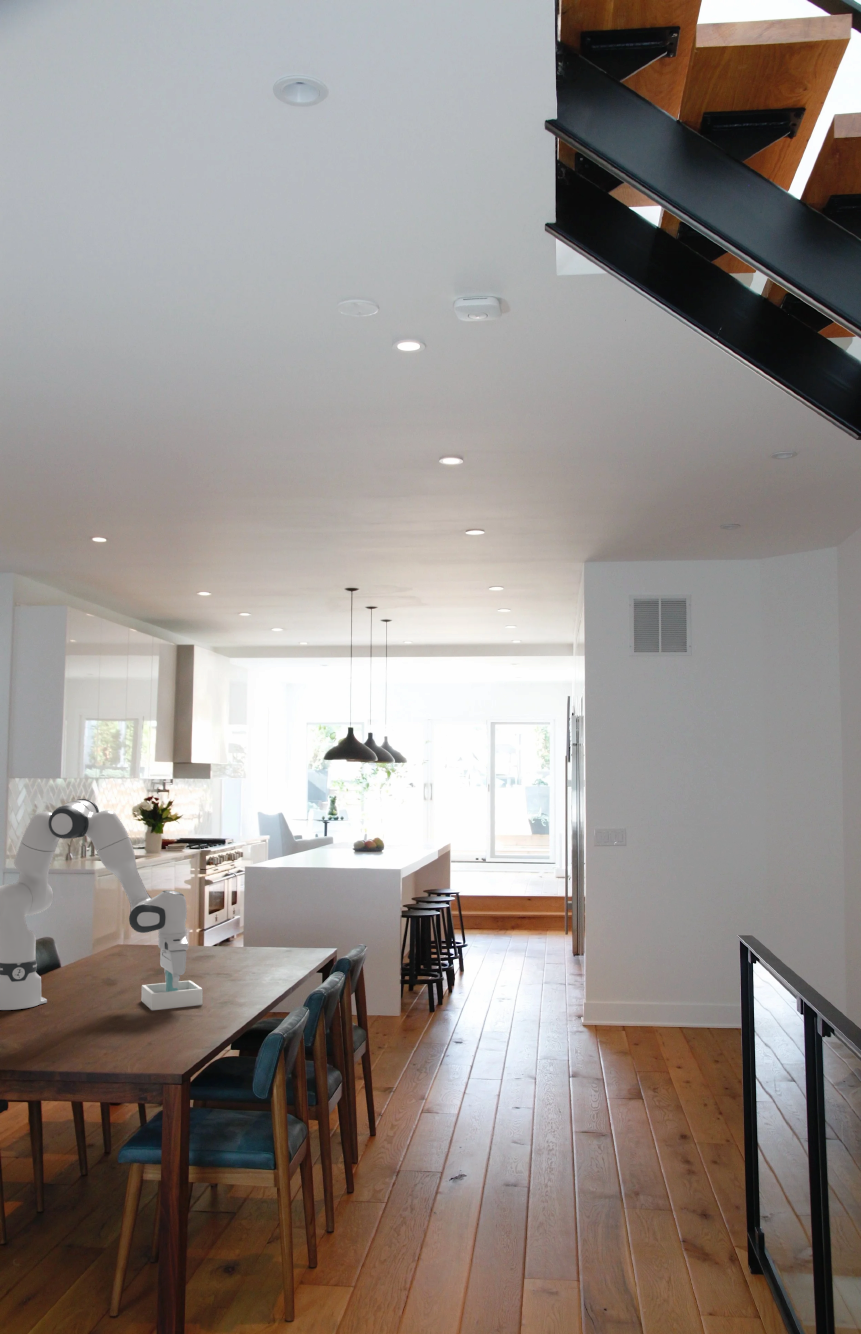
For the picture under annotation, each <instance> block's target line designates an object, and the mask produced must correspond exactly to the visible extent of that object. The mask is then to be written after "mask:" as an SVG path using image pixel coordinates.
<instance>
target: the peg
mask: <svg viewBox="0 0 861 1334" xmlns="http://www.w3.org/2000/svg"><path fill="white" fill-rule="evenodd" d="M172 981H173V977H172V974H171V973H170V972H168V971H166V982H165V983H166V992H170V991H178V988H173V987H172Z"/></svg>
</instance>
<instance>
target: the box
mask: <svg viewBox="0 0 861 1334" xmlns="http://www.w3.org/2000/svg"><path fill="white" fill-rule="evenodd" d="M203 993H204V991H203V988H202V987H201V986H199V985H198V984H196V983H195V982H194V981H193V980H182V981H181V980H179V985H178V991H170V992H166V982H159V983H151V984H141V996H140V997H141V998H140V999H141V1002H142V1003H143V1004H144V1005H145V1006H146V1007H148V1008H149V1010H150V1011H158V1010H159V1011H160V1010H168V1009H177V1008H185V1007H195V1006H202V1005H203V1002H204V1001H203Z"/></svg>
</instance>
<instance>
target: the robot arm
mask: <svg viewBox="0 0 861 1334" xmlns="http://www.w3.org/2000/svg"><path fill="white" fill-rule="evenodd" d="M84 836H86V837H87V838H89V839H90V841H91V842H92V845H93V847H94V849H95V851H96V854H97V856H98V859H99V860H100V861H101V863H102V865H103V866H104V867H105V869H106V870H107V871H108V872H110V873H111V874H113V875H114V876H116V877H115V878H117V879H118V881H119V882H120V884H121V887H122V888H123V890H124V893H125V894H126V897H127V899H128V901H129V905H130V913H129V916H128V921H129V925H130V926H131V928H132V929H133V930H134V931H135V932H137V933H140V934H146V933H150V932H154V931H158V941H157V942H158V948H159V949H160V954H159V956H160V957H159V964H160V965H159V966H160V967H161V968H163V969H164V970H163V971H164V978H165V982H164V983H166V971H168V972H170V973H171V974H172V977H173V981H172V987H173V988H178V985H179V981H180V978H181V975H182V976H183V975H184V974H185V972H186V965H187V964H186V963H187V950H188V949H189V942H188V941H187V940H188V939H187V927H186V922H187V916H188V914H187V911H188V910H187V899H186V896H185V895H184V894H183V893H182V892H180V891H175V890H162V891H161V892H160V893H158V894H157V895H156V896H153V897H152V896H151V895H149V893H148V891H147V889H146V886H145V884H144V882H143V880H142V878H141V875H140V874H139V871H138V867H137V860H136V855H135V850H134V847H133V843H132V841H131V837H130V836H129V833H128V832H127V830H126V828H125V826H124V824H123V822H122V821H121V819H120V818H119V817H118V815H117V814H116V813H115V812H114V811H112V810H101V811H100V808H99V807H98V806H97V804H96V802H94V801H92V800H90V799H87V798H78V799H75V800H71V801H67V802H66V803H65V804H63V805H61V806H58V807H56V808H55V809H54V810H53V812H50V811H46V810H45V811H40V812H37V813H35V814H34V815H33V816H32V818H31V819H30V821H29V823H28V825H27V826H26V828H25V830H24V833H23V835H22V837H21V840H20V844H19V846H18V849H17V852H16V855H15V857H14V860H13V863H14V868H16V870H17V871H18V872H19V873H18V874H19V875H18V880H17V882H15V883H9V884H8V883H7V884H2V885H0V1011H11V1010H13V1011H14V1010H21V1009H23V1010H24V1009H28V1008H33V1007H36V1006H38V1005H42V1004H47V1003H48V999H47V998H45V997H43V996H42V977H41V976H40V975H39V974H38V973H37V972H36V971H38V970H37V968H38V967H37V966H38V963H37V962H38V961H37V959H36V948H37V947H36V946H37V943H36V941H37V938H36V937H37V936H36V934H35V933H34V931H33V930H30V929H29V927H28V925H27V921H26V917H28V916H34V915H37V914H40V913H42V912H44V911H46V910H48V909H49V908H50V907H51V905H52V904H53V902H54V892H53V889H52V887H51V885H50V884H49V870H50V867H51V864H52V861H53V858H54V855H55V852H56V849H57V846H58V844H59V840H60V839H62V840H63V839H64V840H68V839H69V840H71V839H77V838H79V839H80V838H83V837H84Z"/></svg>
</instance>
